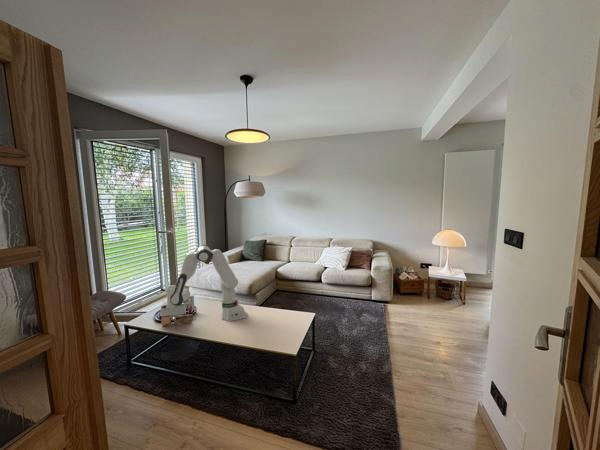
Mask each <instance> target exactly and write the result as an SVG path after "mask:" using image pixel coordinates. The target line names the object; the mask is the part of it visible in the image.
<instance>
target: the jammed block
mask: <svg viewBox="0 0 600 450" xmlns="http://www.w3.org/2000/svg"><path fill="white" fill-rule="evenodd" d="M160 318H161V321H160V322H161V325H162V326H164V324H170V322H171V320H172V319H171V317H170V316H161V317H160Z"/></svg>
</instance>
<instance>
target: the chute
mask: <svg viewBox="0 0 600 450" xmlns="http://www.w3.org/2000/svg"><path fill="white" fill-rule="evenodd" d="M176 318H181V319H179V320H174V322H170V324H164V325H163V327H165V328H166V327H174V326H183V325H185V326H186V325H192V323H193V322H192V321H193V320H194V313H192V314H189V313H187V314H182V315H177V316H176Z"/></svg>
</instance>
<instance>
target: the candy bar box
mask: <svg viewBox="0 0 600 450" xmlns="http://www.w3.org/2000/svg"><path fill="white" fill-rule="evenodd" d="M183 303H184V304H186V309H188V310H191V311H192V310H194V311H195V294H190V296H189V298H187V299H186V300H185V301H184V302H183Z"/></svg>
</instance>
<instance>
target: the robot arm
mask: <svg viewBox="0 0 600 450" xmlns="http://www.w3.org/2000/svg"><path fill="white" fill-rule="evenodd" d="M199 262H202V263H205V262H212V265H213V267H214V269H215V271H216V273H217V274H218V275H219V277H218V279H219V281H220V288H221V295H222V298H221V299H222V302H221V308H222V310H221V316H220V318H221V319H222V320H223V321H227V322H233V321H239V320H243V319H246V318H248V317H247V316H248V313H247V311H246V310H245V309H244V307H243V306H242V305H241V304H239V301H238V299H236V290H235V288H236V287H237V286H238V285H239V280H238V278H237V277H236V275H235V273H234V271H233V270H232V269H231V266H230V265H229V262H228V261H227V259H226V256H225V254H224V253H223V252H222V251H221V250H220V248H219V249H217V248H215V249H211V248H210V246H208V245H207V244H202V245H200V246H198V247H197V248H196V249H195V250H194V252H191V251H190V252H188V253H187V254H185V257H184V259H183V262H182V266H181V270H180V272H179V277H178V279H177V282H176V284H171V285H169V286H168V287H167V288H166V302H163V303H162V304H161V305H160V310H159V316H160V317H162V316H170V317H171V320H176V316H178V315H187V313H186V312H187V311H186V304H184V303H183V302H184V301H185V300H186V299H187V298H189V296H190V295H191V292H190V290H189V288H185V286H186V284H187V283H188V281H189V280H190V279H191V278H192V277H193V276H194V275H195V273H196V271H197V268H198V265H199ZM242 318H243V319H242Z"/></svg>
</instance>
